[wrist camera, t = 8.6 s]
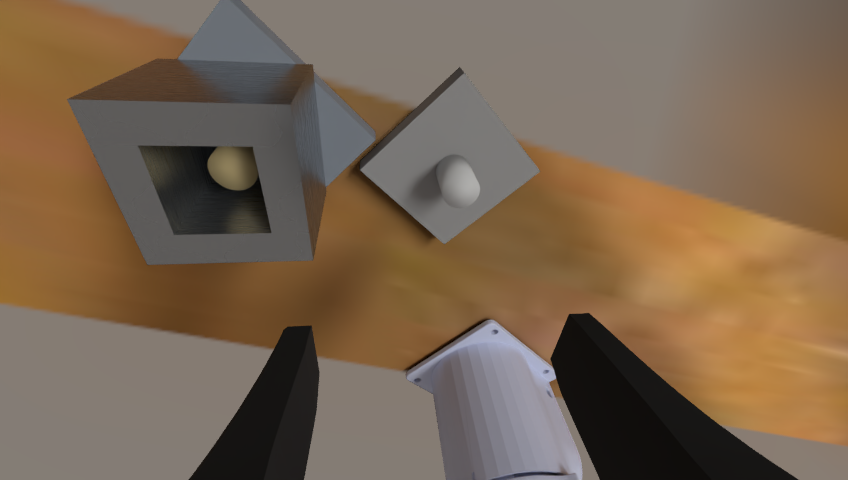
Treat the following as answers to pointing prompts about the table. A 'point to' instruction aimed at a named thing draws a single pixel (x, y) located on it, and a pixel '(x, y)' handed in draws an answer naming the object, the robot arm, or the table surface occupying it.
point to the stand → (449, 159)
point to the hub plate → (254, 42)
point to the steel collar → (191, 148)
